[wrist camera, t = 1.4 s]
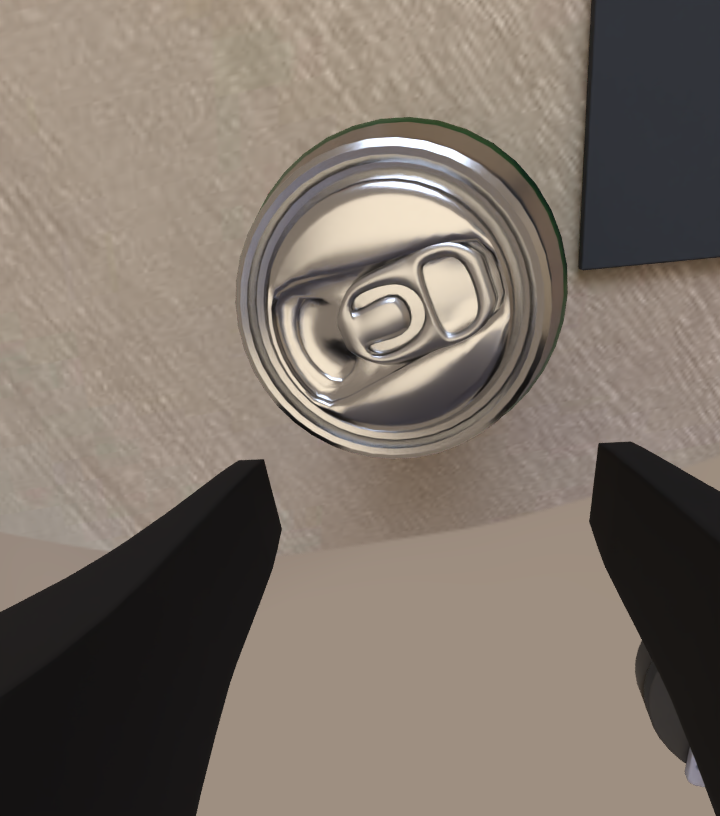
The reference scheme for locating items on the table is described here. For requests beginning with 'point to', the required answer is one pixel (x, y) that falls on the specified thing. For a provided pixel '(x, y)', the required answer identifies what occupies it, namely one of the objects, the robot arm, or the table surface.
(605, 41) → the mat
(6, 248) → the table surface
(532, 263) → the soda can
